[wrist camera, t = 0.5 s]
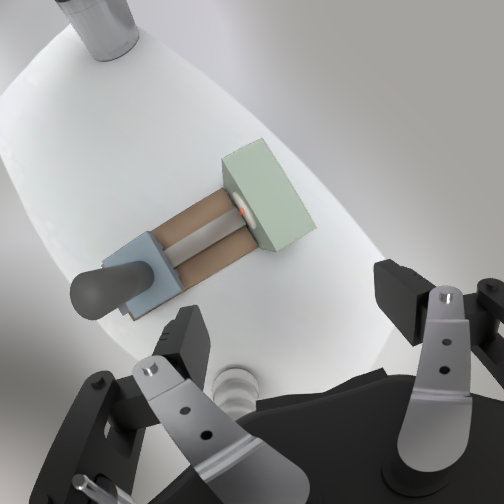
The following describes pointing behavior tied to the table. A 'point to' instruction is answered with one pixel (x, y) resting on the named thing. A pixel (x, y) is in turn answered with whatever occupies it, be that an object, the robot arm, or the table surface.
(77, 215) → the table surface
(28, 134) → the table surface
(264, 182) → the gauge cabinet
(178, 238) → the rail
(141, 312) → the cylinder
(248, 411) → the plastic bottle
